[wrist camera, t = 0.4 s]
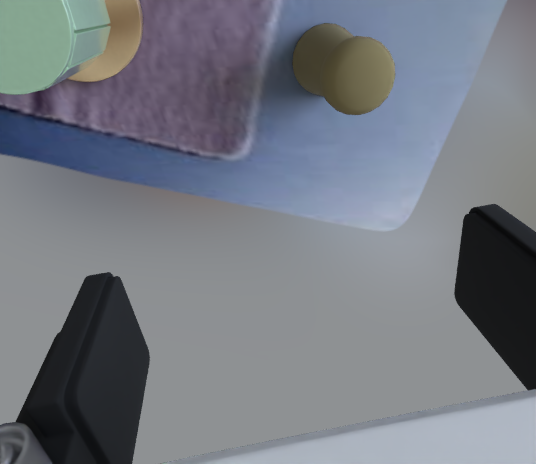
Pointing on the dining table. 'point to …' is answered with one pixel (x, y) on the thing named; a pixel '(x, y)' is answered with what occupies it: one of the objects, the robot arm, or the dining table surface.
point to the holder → (116, 41)
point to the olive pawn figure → (344, 68)
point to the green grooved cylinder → (48, 41)
